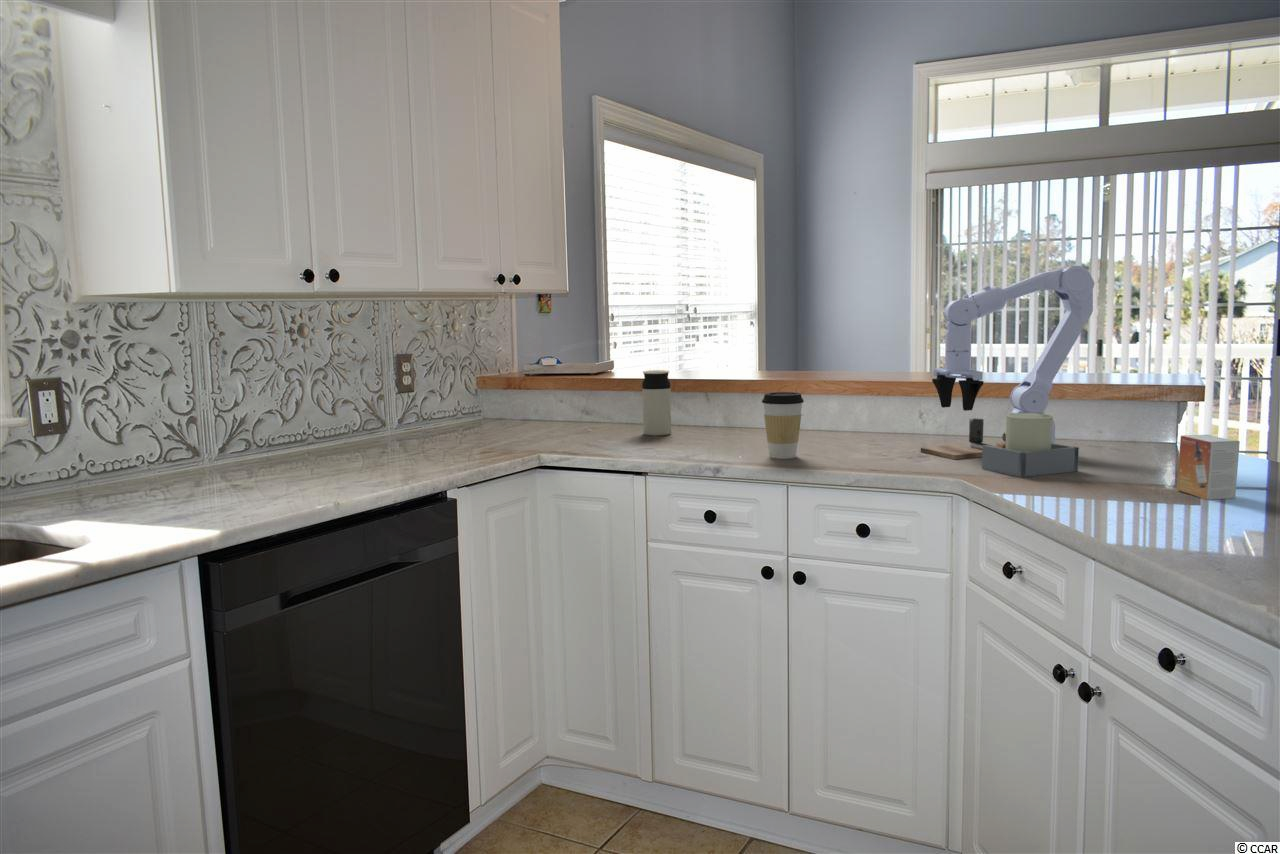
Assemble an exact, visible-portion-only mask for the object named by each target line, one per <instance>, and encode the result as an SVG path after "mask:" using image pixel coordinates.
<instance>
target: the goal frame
mask: <svg viewBox="0 0 1280 854" xmlns="http://www.w3.org/2000/svg"><path fill="white" fill-rule="evenodd" d="M1079 448H1080V447H1078V446H1073V445H1072V446H1071V445H1067V444H1062V443H1061V444H1060V443H1051V449H1049V450H1039V451H1029V452H1020V451H1015V450H1010V449H1004V448H999V447H994V446H988V445H983V449H982V457H981V458H982V459H981V460H982V461H981V469H982V468H983V470H987V469H988V471H991V470H992V472H996V473H999V474H1000V473H1001V474H1004V473H1005V475H1010V476H1013V475H1014V476H1015V477H1019V478H1026V477H1027V476H1029V477H1037V475H1038V476H1046V475H1054V474H1061V473H1062V474H1064V473H1071V472H1078V471H1079V470H1078V469H1079V454H1080V453H1079V452H1080V451H1079V450H1080V449H1079ZM1027 478H1028V477H1027Z"/></svg>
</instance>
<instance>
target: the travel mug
mask: <svg viewBox="0 0 1280 854" xmlns="http://www.w3.org/2000/svg"><path fill="white" fill-rule="evenodd" d="M669 373H670V370H665V369H663V370H662V369H657V370H656V369H654V370H653V369H651V370H649V369H648V370H644V371H643V372H642V374H643V377H644V378H643V381H642V383H641V386H642V387H641V388H642V389H641V390H642V424H643V425H642V427H643V428H642V432H643V434H644V435H646V436H653V437H658V436H659V437H660V436H661V437H663V436H668V435H670V434H672V401H671V399H672V397H671V396H672V395H671V381H670V379H669Z"/></svg>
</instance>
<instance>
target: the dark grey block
mask: <svg viewBox="0 0 1280 854" xmlns="http://www.w3.org/2000/svg"><path fill="white" fill-rule="evenodd" d="M984 421H985V420H984V418H977V417H975V418H969V425H968V426H969V427H968V428H969V429H968V430H969V433H968V442H969V448H974V449H979V450H982V449H983V445H988V446H994V447H999V448H1004V449H1006V431H1004V432H1003V434H1002V435H1001V436H1002V437H1001V438H1002V441H1003V442H1000V443H996V444H990V443H989V444H988V443H985V442H984Z"/></svg>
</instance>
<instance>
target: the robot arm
mask: <svg viewBox="0 0 1280 854" xmlns="http://www.w3.org/2000/svg"><path fill="white" fill-rule="evenodd" d="M1095 284H1096V283H1095V281H1094V279H1093V277H1092V275H1091V273H1090V271H1089V270H1088V269H1087V268H1086V267H1085V266H1082V265H1072V266H1062V267H1059V268H1057V269H1052V270H1048V271H1044V272H1040V273H1037V274H1035V275H1033V276H1031V277H1030V276H1029V277H1028V278H1026V279H1022V280H1020V281H1018V282H1015V283H1013V284H1011V285H1008V286H1006V287H1003V288H1001V287H999V286H996V285H993V286H991V285H986V286H983V287H982V290H980V291H978V292H975V293H973V294H972V293H971V294H968V293H967V294H964V295H962V298H960V299H956V300H952V301H950V302H948V304H947V305H946V307H945V309H944V311H943V317H944V320H945V321H946V325H945V327H946V331H945V344H944V345H945V346H944V348H945V349H944V351H945V352H944V368H943V367H938V368H937V367H936V368H933V377H935V378H932V380H931V381H932V384H934V387H935V389H936V391H937V394H938V398H939V402H940V406H941V408H950V407H951V404H952V399H953V398H952V397H953V390H954V387H955V386H954V385H955V383H956V380H957V379H960V380H958V384H959V385H958V386H959V387H960V391H961V396H962V397H961V399H962V401H961V403H962V410H963V411H964V412H965V411H973V410H974V409H973V408H974V405H975V401H976V399H977V396H978V394H979V392H980V389H981V388H982V386H984V383H985V381H984V380H983V377H984V376H983V374H984V373H983V371H980V370H975V369H971V367H972V366H971V363H972V362H971V360H972V359H971V358H972V321H973V320H974V319H979V318H983V317H984V316H987V315H990V314H993V313H995V312H999V311H1001V310H1003V309H1004V308H1005V306H1006V304H1007V303H1008V302H1009V301H1012V300H1016V299H1018V298H1021V297H1023V296H1026V295H1029V294H1032V293H1035V292H1038V291H1041V290H1043V291H1054V293H1055V295H1057V296H1058V297H1059V299H1060V300H1061V302H1062V304H1063V308H1064V310H1065V312H1064V314H1063V316H1062V318H1061V319H1060V320H1059V323H1058V324H1057V326H1056V328H1055V329H1054V331H1053V333H1052V334H1051V336H1050V339H1049V340H1048V341H1047V343H1046V345H1045V347H1044V349H1043V351H1042V352H1041V354H1040V355H1039V357H1038V359H1037V361H1036V362H1035V364H1034V365H1033V367H1032V369H1031V371H1030V372H1029V373H1028V374H1027V375H1026V376H1025V377H1024V378H1023V379H1022V381H1021V382H1020V384H1018V385H1016V386H1015V387H1014V388H1013V389H1012V390H1011V393H1010V395H1009V402H1010V404H1011V405H1012V407H1013V410H1012V411H1011V414H1014V413H1036V414H1038V413H1039V414H1046V415H1049V414H1047V413H1046V412H1045V411H1046V409H1047V407H1048V405H1049V396H1050V394H1051V392H1052V389H1053V382H1054V379H1055V377H1056V375H1057V374H1058V373H1059V370H1060V369H1061V367H1062V366H1063V364H1064V362H1065V361H1066V359H1067V357H1068V355H1069V353H1070V352H1071V350H1072V348H1073V346H1074V345H1075V343H1076V341H1077V340H1078V338H1079V336H1080V334H1081V333H1082V331H1083V329H1084V328H1085V326H1087V325H1086V324H1087V322H1088V321H1089V319H1090V318H1091V316H1092V314H1093V312H1094V288H1095ZM1055 441H1056V422H1055V419H1053V420H1052V437H1051V443H1055Z"/></svg>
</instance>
